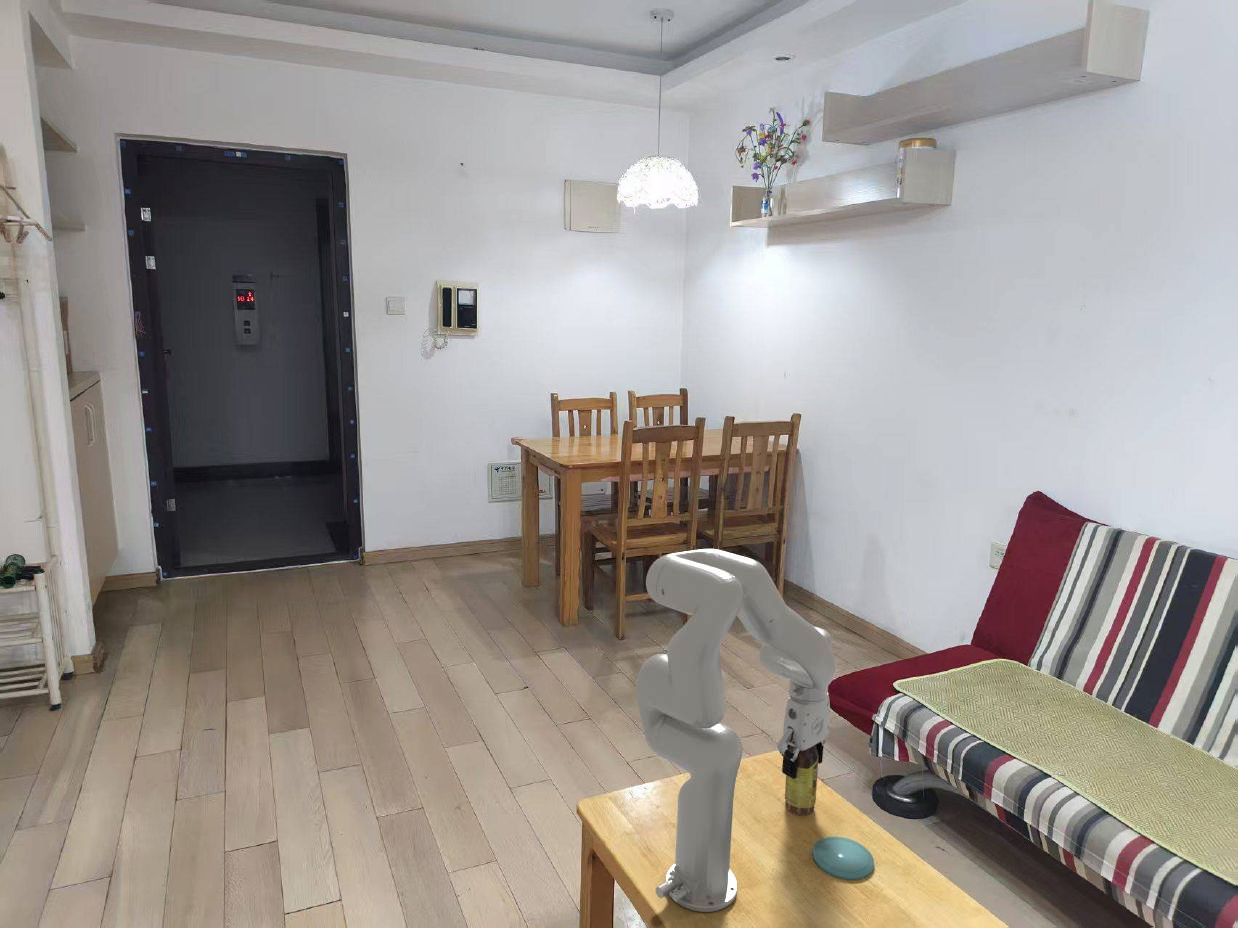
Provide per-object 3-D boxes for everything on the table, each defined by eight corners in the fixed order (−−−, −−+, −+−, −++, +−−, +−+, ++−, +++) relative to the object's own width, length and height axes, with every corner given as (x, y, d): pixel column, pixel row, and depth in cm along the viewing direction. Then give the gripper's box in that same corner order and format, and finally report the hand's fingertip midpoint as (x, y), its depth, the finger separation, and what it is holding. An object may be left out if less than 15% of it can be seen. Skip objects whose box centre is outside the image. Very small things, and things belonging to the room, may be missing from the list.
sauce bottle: (817, 817, 163) (825, 727, 159) (787, 816, 163) (793, 726, 160) (811, 798, 170) (817, 711, 166) (781, 797, 170) (787, 710, 166)
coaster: (852, 888, 143) (852, 884, 143) (800, 856, 151) (801, 852, 151) (885, 862, 151) (885, 857, 150) (834, 832, 159) (834, 828, 158)
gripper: (797, 709, 153) (791, 792, 156) (849, 682, 164) (842, 761, 168) (766, 694, 159) (760, 775, 162) (818, 670, 170) (812, 745, 173)
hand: (802, 767), depth 165 cm, fingers open, 8 cm apart
